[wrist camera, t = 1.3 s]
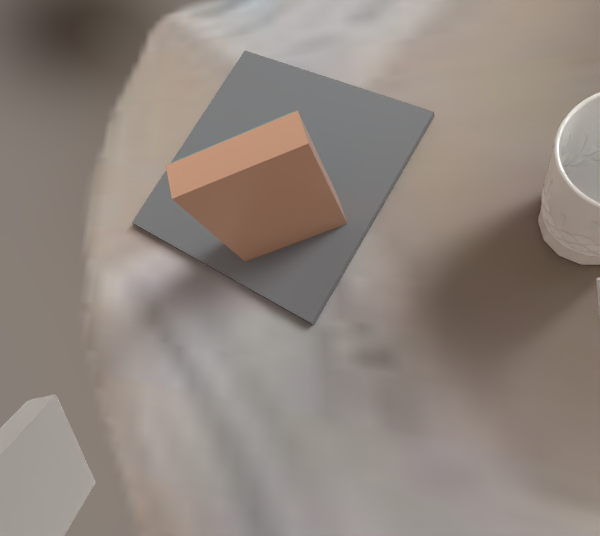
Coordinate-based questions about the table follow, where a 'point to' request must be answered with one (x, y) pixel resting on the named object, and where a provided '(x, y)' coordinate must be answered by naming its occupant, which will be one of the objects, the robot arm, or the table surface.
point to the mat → (335, 158)
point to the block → (259, 188)
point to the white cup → (574, 187)
